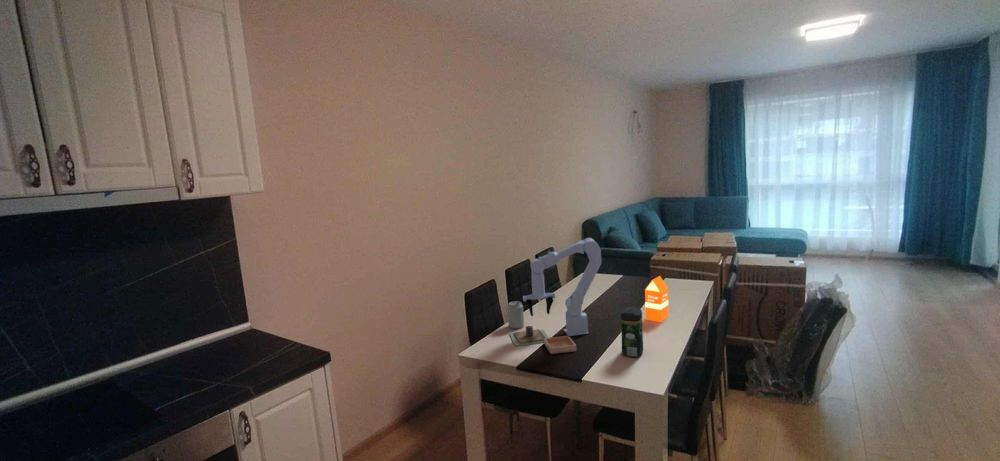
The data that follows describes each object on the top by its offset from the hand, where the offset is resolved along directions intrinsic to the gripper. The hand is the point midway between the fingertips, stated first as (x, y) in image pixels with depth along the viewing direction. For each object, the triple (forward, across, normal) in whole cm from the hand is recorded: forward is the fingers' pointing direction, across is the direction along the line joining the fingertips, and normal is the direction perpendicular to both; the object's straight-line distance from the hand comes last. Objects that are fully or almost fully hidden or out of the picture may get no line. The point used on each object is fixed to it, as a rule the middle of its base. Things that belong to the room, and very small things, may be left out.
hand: (539, 314), depth 205 cm
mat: (+9, -6, -3) cm, 12 cm away
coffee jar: (+10, +30, -31) cm, 44 cm away
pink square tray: (+9, +4, -17) cm, 20 cm away
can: (+10, -9, +13) cm, 18 cm away
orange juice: (+10, +58, +2) cm, 59 cm away
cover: (+9, -6, -3) cm, 11 cm away
